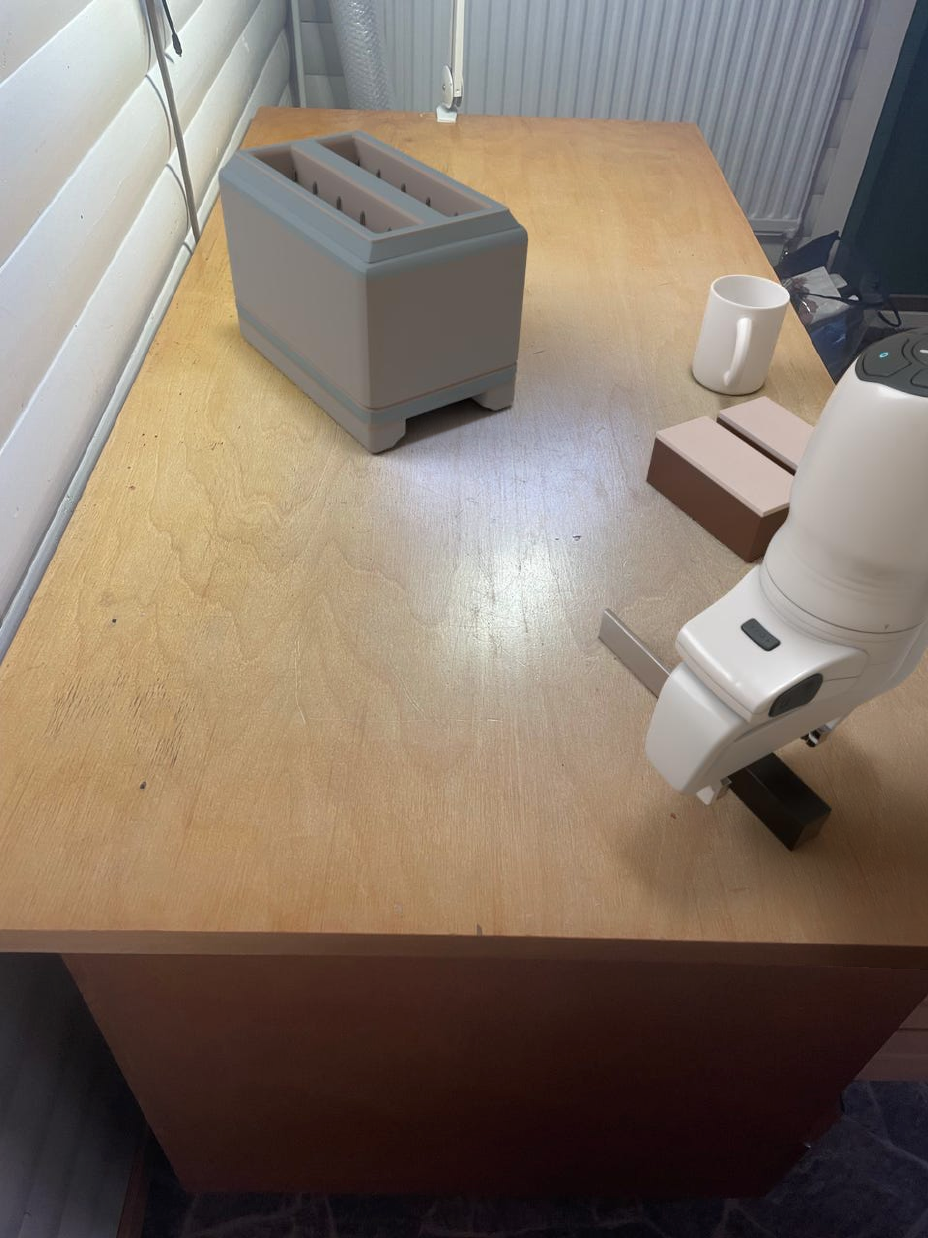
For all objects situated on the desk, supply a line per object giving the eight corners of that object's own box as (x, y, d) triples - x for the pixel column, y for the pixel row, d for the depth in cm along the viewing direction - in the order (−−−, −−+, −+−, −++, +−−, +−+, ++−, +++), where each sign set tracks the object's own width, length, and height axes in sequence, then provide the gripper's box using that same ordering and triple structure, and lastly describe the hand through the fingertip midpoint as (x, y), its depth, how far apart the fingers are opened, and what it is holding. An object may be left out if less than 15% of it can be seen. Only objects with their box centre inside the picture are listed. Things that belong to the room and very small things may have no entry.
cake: (855, 516, 86) (876, 467, 82) (746, 563, 80) (763, 511, 76) (750, 443, 94) (765, 395, 90) (645, 480, 89) (656, 431, 85)
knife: (818, 835, 60) (833, 809, 58) (790, 852, 59) (804, 826, 57) (613, 630, 73) (619, 603, 71) (587, 641, 72) (592, 614, 70)
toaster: (357, 290, 117) (350, 114, 102) (519, 406, 98) (537, 210, 83) (222, 325, 108) (194, 138, 94) (370, 459, 89) (362, 251, 75)
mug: (763, 419, 98) (791, 329, 91) (686, 407, 99) (707, 316, 92) (764, 366, 106) (789, 280, 99) (692, 355, 107) (712, 269, 100)
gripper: (908, 529, 57) (833, 678, 66) (654, 638, 49) (611, 790, 58) (996, 590, 53) (903, 738, 63) (736, 720, 45) (675, 867, 54)
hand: (760, 764), depth 60 cm, fingers open, 8 cm apart
